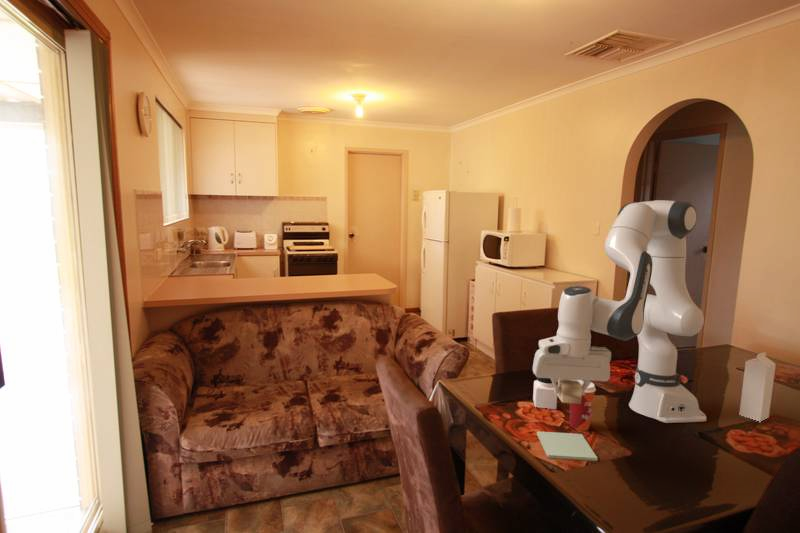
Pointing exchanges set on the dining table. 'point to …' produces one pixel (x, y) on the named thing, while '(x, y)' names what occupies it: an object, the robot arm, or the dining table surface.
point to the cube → (570, 391)
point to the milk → (757, 388)
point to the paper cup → (582, 409)
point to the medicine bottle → (544, 394)
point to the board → (566, 446)
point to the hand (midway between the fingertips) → (569, 393)
